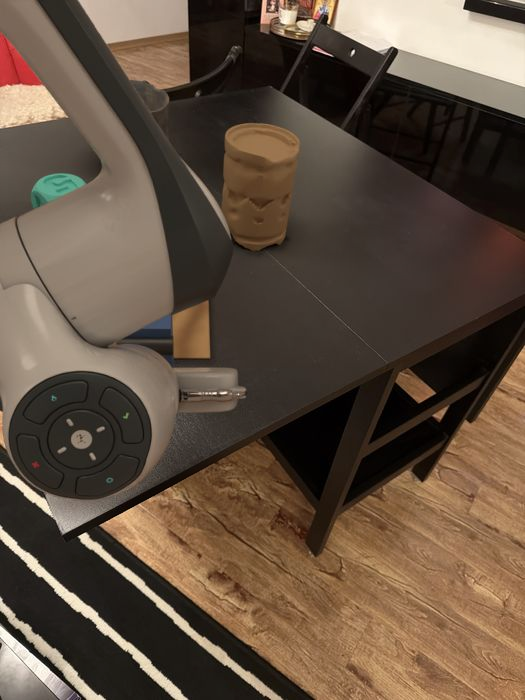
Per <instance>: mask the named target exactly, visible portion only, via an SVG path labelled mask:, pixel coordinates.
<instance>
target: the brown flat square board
mask: <svg viewBox="0 0 525 700" xmlns="http://www.w3.org/2000/svg"><path fill="white" fill-rule="evenodd" d="M172 320H173V339H174V360H210V359H211V341H210V340H211V338H210V337H211V336H210V304H209V300H207V301H205V302H203V303H200V304H198V305H195V306H193V307H191V308H188V309H186V310H183V311H181V312H179V313H176V314H174V315H172ZM116 343H117V342H115V343H113V344H114V345H116Z"/></svg>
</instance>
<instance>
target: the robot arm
mask: <svg viewBox="0 0 525 700" xmlns="http://www.w3.org/2000/svg"><path fill="white" fill-rule="evenodd" d="M0 34H1V35H2V36H3V37H4V38H5V39H6V40H7V41H8V42H9V43H10V44H11V46H12V47H13V48H14V49H15V50H16V52H17V53H18V54H19V56H20V57H21V58H22V59H23V61H24V62H25V64H26V65H27V67H29V69H30V70H31V71H32V72H33V74H34V75H35V76H36V78H37V79H38V80H39V82H40V83H41V84H42V86H44V88H45V89H46V91H47V92H48V93H49V95H50V96H51V97H52V99H53V100H54V101H55V102H56V104H57V105H58V106H59V107H60V109H61V111H63V113H64V114H65V115H66V117H67V118H68V119H69V120H70V121H71V123H72V124H73V126H74V127H75V128H76V130H77V131H78V132H79V133H80V135H81V137H83V139H84V140H85V142H87V144H88V145H89V146H90V147H91V149H92V150H93V152H94V153H95V154H96V155H97V157H98V158H99V159H100V162H101V169H100V172H99V173H98V175H97V176H96V177H95V178H94V179H92V180H91V181H89V182H88V183H86V185H84V186H81V187H79V188H77V189H75V190H73V191H71V192H69V193H67V194H65V195H63V196H61V197H59V198H56V199H54V200H52V201H50V202H48V203H46V204H44V205H42V206H40V207H38V208H36V209H31V210H29V211H27V212H25V213H23V214H21V215H16V216H14V217H12V218H10V219H7V220H5V221H3V222H0V412H1V413H2V415H1V416H2V417H1V427H2V428H1V430H2V438H3V443H4V447H5V449H6V452H7V455H8V457H9V459H10V461H11V463H12V464H13V466H14V467H15V469H16V471H17V472H18V473H19V475H20V476H21V477H22V478H23V479H24V480H25V481H26V482H27V483H28V484H30V485H31V486H32V487H34V488H36V489H37V490H39V491H41V492H42V493H44V494H46V495H49V496H51V497H54V498H57V499H62V500H67V501H72V502H73V501H74V502H76V501H77V502H94V501H100V500H105V499H108V498H112V497H115V496H118V495H120V494H122V493H125V492H126V491H128V490H130V489H132V488H133V487H135V486H136V485H137V484H139V483H140V482H141V481H142V480H143V479H144V478H145V477H147V475H148V474H149V473H150V472H151V471H152V470H153V469H154V468H155V466H156V465H157V464H158V463H159V462H160V460H161V459H162V458H163V455H164V454H165V452H166V450H167V449H168V447H169V444H170V442H171V439H172V436H173V432H174V428H175V424H176V418H177V414H186V413H187V414H190V413H191V414H192V413H195V414H197V413H221V412H223V413H224V412H230V411H232V410H234V409H235V408H236V407H237V406H238V403H239V399H246V398H247V395H248V391H247V388H246V387H244V386H242V385H239V372H238V370H237V368H233V367H174V368H172V367H171V365H170V364H169V363H168V362H167V361H166V360H165V359H164V358H163V357H162V356H161V355H160V354H158V353H157V352H155V351H154V350H152V349H150V348H147V347H145V346H141V345H136V344H119V345H114V344H113V343H115V342H117V341H119V340H121V339H123V338H125V337H127V336H128V335H130V334H132V333H134V332H136V331H138V330H140V329H142V328H144V327H146V326H148V325H150V324H151V323H153V322H155V321H157V320H159V319H161V318H163V317H165V316H167V315H169V314H170V315H174V314H176V313H179V312H181V311H183V310H186V309H188V308H191V307H193V306H195V305H198V304H200V303H203V302H205V301H207V300H208V301H209V300H212V299H215V298H216V296H217V294H218V292H219V290H220V288H221V286H222V285H223V282H224V280H225V277H226V276H227V273H228V271H229V269H230V265H231V262H232V258H233V256H234V251H235V247H234V244H233V241H232V236H231V235H232V234H231V232H230V230H229V227H228V224H227V222H226V219H225V217H224V215H223V213H222V208H221V207H220V206H219V204H218V202H217V200H216V199H215V197H214V195H213V193H211V191H210V190H209V188H208V187H207V186H206V185H205V183H204V182H203V181H202V180H201V178H200V177H199V176H198V175H197V173H195V172H194V171H193V170H192V168H191V167H190V166H189V165H188V164H187V163H186V162H185V161H184V159H183V158H182V157H181V156H180V155H179V154H178V151H176V149H175V147H174V146H173V145H172V143H171V141H170V139H169V140H168V139H167V137H166V136H165V134H164V133H163V131H162V130H161V128H160V127H159V125H158V124H157V122H156V120H155V119H154V117H153V116H152V114H151V112H150V111H149V109H148V108H147V106H146V105H145V103H144V101H143V100H142V98H141V97H140V95H139V94H138V92H137V90H136V89H135V87H134V86H133V84H132V83H131V81H130V80H131V79H130V78H129V77H128V75H127V73H126V72H125V70H124V69H123V67H122V66H121V64H120V63H119V61H118V59H117V58H116V56H115V55H114V54H113V51H112V50H111V48H110V47H109V45H108V44H107V43H106V41H105V40H104V38H103V36H102V34H101V33H100V32H99V30H98V29H97V27H96V25H95V23H94V22H93V20H92V19H91V17H90V16H89V14H88V13H87V11H86V10H85V7H83V5H82V4H81V2H80V1H79V0H0Z"/></svg>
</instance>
